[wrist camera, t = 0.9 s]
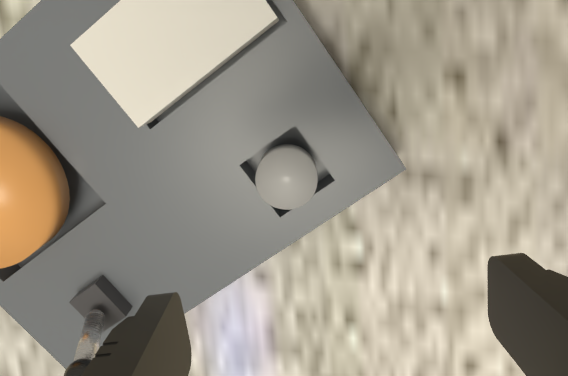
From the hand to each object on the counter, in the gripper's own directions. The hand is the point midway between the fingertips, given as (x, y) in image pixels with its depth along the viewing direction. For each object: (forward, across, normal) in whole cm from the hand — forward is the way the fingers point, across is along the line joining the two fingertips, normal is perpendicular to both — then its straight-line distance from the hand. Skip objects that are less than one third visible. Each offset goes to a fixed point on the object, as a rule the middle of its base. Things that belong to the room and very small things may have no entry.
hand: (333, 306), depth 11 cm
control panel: (+19, +11, -2) cm, 22 cm away
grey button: (+16, +1, 0) cm, 16 cm away
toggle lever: (+15, +15, +8) cm, 23 cm away
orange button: (+16, +20, -1) cm, 26 cm away
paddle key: (+16, +6, -9) cm, 19 cm away
